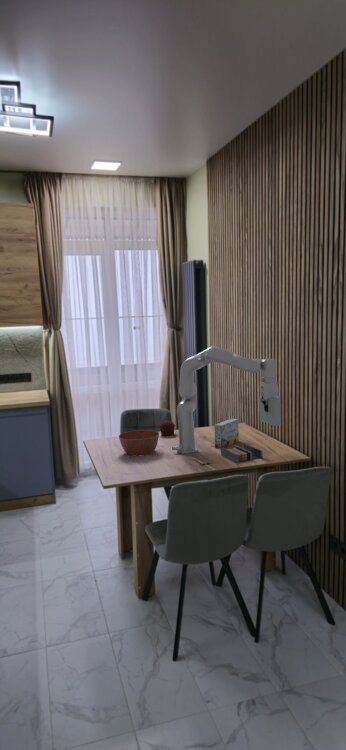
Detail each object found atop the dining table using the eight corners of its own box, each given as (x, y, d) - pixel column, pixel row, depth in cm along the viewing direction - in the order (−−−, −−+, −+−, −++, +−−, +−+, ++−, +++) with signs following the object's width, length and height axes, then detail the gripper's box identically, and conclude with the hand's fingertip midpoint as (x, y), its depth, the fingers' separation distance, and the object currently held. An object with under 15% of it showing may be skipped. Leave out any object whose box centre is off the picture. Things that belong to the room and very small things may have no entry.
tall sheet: (275, 425, 292) (274, 399, 290) (259, 420, 307) (259, 396, 305) (281, 424, 294) (280, 399, 292) (265, 420, 308) (264, 395, 306)
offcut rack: (236, 464, 283) (236, 455, 283) (221, 456, 300) (220, 447, 299) (262, 459, 290) (262, 450, 289) (245, 452, 306) (245, 443, 305)
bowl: (152, 445, 334) (151, 428, 333) (165, 454, 311) (164, 436, 309) (115, 450, 325) (114, 433, 324) (126, 460, 302) (125, 441, 301)
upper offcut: (238, 458, 285) (237, 455, 285) (225, 452, 298) (225, 449, 298) (247, 456, 288) (247, 453, 288) (234, 450, 301) (234, 447, 300)
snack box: (222, 449, 316) (221, 425, 314) (214, 448, 319) (213, 424, 318) (239, 441, 333) (238, 418, 331) (232, 440, 336) (231, 417, 334)
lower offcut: (238, 461, 286) (238, 458, 285) (225, 455, 298) (225, 452, 298) (247, 459, 288) (247, 456, 288) (234, 453, 301) (234, 450, 301)
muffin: (173, 437, 353) (172, 422, 351) (157, 437, 355) (157, 422, 354) (177, 433, 364) (176, 419, 363) (162, 432, 367) (161, 419, 365)
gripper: (260, 382, 290) (261, 413, 293) (284, 379, 297) (285, 410, 299) (253, 380, 297) (254, 411, 299) (277, 377, 304) (278, 408, 306)
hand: (269, 410), depth 299 cm, fingers closed on tall sheet, 4 cm apart
